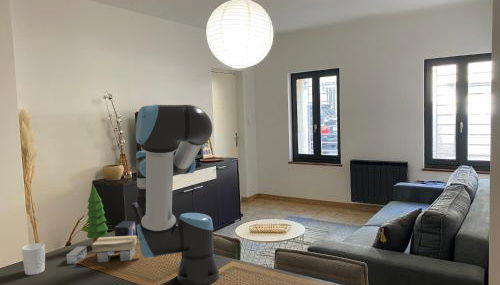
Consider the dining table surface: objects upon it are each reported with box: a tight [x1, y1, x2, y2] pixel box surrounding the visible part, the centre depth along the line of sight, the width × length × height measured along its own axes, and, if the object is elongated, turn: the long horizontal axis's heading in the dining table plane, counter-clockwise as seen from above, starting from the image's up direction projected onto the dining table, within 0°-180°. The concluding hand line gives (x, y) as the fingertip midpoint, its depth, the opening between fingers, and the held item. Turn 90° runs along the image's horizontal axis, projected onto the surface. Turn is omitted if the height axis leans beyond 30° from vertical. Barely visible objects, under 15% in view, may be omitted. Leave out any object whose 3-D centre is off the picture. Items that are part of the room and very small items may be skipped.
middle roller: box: [96, 251, 115, 263], centre depth 160 cm, size 10×4×4 cm, turn 5°
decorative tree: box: [86, 182, 109, 249], centre depth 175 cm, size 10×9×30 cm
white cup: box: [21, 242, 46, 276], centre depth 147 cm, size 8×8×10 cm
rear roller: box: [119, 245, 136, 262], centre depth 161 cm, size 10×4×4 cm, turn 5°
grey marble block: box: [65, 245, 88, 265], centre depth 159 cm, size 10×4×4 cm, turn 1°
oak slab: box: [91, 234, 138, 253], centre depth 160 cm, size 10×16×3 cm, turn 95°
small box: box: [114, 220, 136, 237], centre depth 174 cm, size 11×6×10 cm, turn 179°
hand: (148, 241), depth 162 cm, fingers closed
